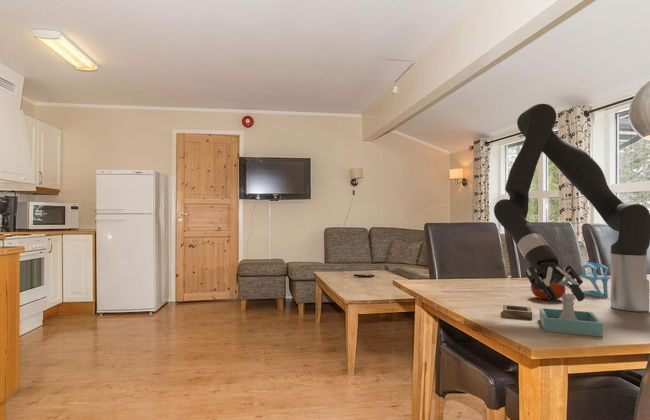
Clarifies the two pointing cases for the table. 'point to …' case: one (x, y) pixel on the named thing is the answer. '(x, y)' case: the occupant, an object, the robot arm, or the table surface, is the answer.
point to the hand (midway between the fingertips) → (568, 300)
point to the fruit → (555, 286)
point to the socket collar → (517, 312)
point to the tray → (571, 323)
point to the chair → (595, 277)
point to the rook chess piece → (568, 307)
